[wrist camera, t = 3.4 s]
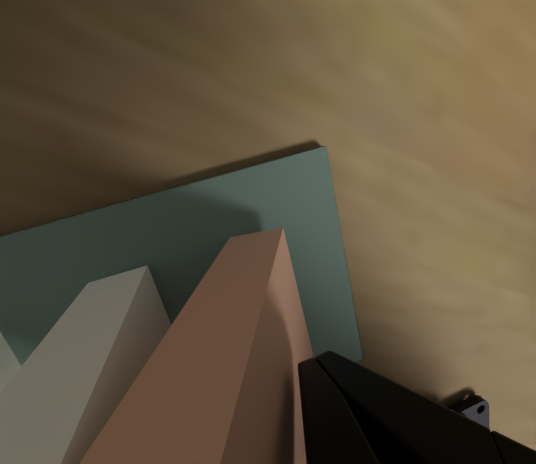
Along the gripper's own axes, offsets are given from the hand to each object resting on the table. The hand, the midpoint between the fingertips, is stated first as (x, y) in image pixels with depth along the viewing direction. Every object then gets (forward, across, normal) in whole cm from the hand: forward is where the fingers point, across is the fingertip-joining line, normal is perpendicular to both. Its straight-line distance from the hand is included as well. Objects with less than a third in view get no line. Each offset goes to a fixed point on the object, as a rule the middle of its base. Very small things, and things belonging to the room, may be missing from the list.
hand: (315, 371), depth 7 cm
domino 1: (+4, 0, 0) cm, 4 cm away
